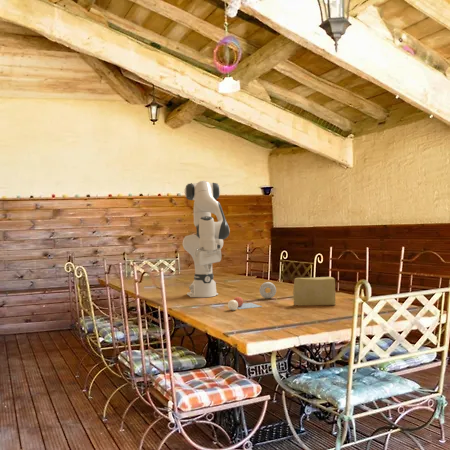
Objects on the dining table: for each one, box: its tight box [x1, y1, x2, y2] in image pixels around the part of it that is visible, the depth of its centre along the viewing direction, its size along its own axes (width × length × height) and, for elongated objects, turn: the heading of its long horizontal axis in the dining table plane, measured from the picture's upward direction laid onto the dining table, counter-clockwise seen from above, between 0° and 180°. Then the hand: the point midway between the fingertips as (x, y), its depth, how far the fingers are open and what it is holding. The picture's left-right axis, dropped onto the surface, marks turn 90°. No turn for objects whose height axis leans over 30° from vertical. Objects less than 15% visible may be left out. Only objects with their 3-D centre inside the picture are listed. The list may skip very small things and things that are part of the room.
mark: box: [236, 302, 263, 310], centre depth 281 cm, size 14×14×1 cm
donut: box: [259, 281, 277, 299], centre depth 306 cm, size 10×4×10 cm, turn 90°
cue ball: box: [227, 299, 238, 311], centre depth 270 cm, size 6×6×6 cm
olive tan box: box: [292, 276, 336, 306], centre depth 280 cm, size 22×10×15 cm, turn 92°
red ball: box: [233, 296, 244, 307], centre depth 280 cm, size 6×6×6 cm
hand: (208, 271), depth 278 cm, fingers closed
